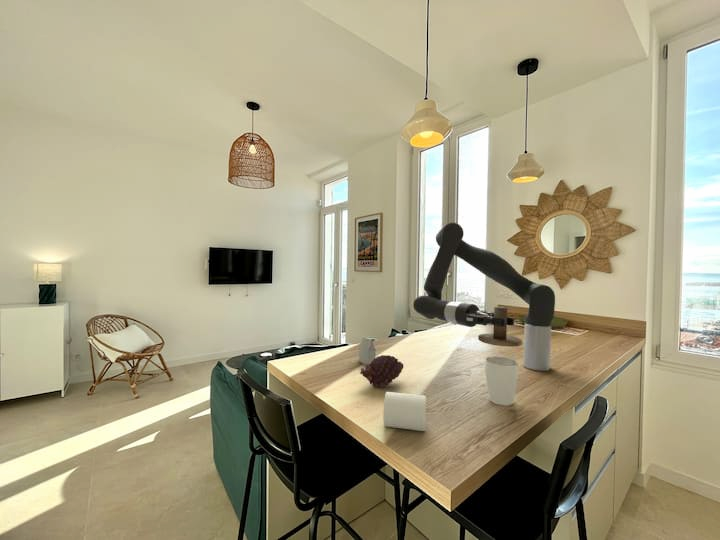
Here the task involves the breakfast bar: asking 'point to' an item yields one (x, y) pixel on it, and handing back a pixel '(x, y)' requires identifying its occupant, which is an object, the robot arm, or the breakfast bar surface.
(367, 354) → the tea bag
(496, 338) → the lid
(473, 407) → the breakfast bar surface
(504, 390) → the cup
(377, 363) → the pine cone
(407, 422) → the white rounded block
